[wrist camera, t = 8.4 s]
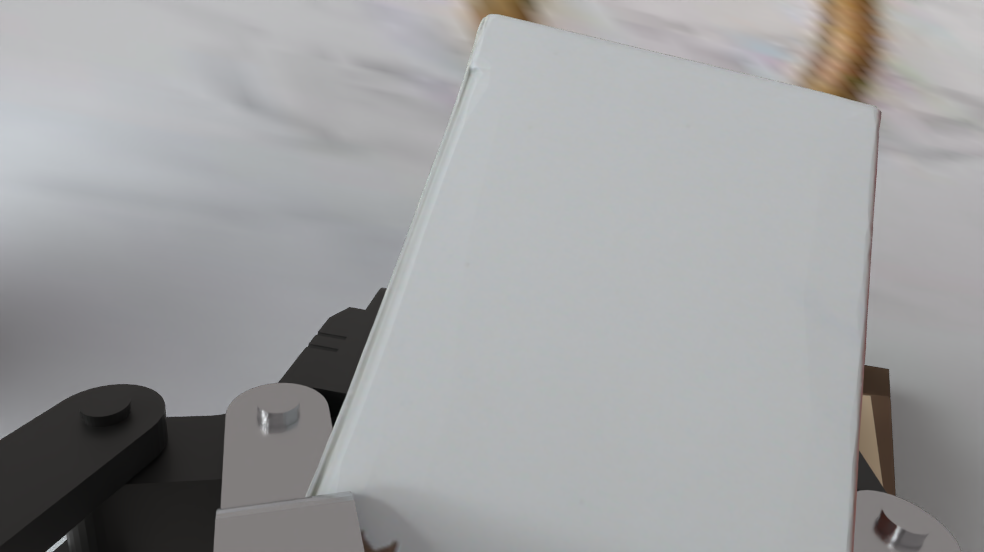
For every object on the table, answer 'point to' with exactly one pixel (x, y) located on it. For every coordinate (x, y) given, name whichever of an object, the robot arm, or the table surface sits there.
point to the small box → (619, 314)
